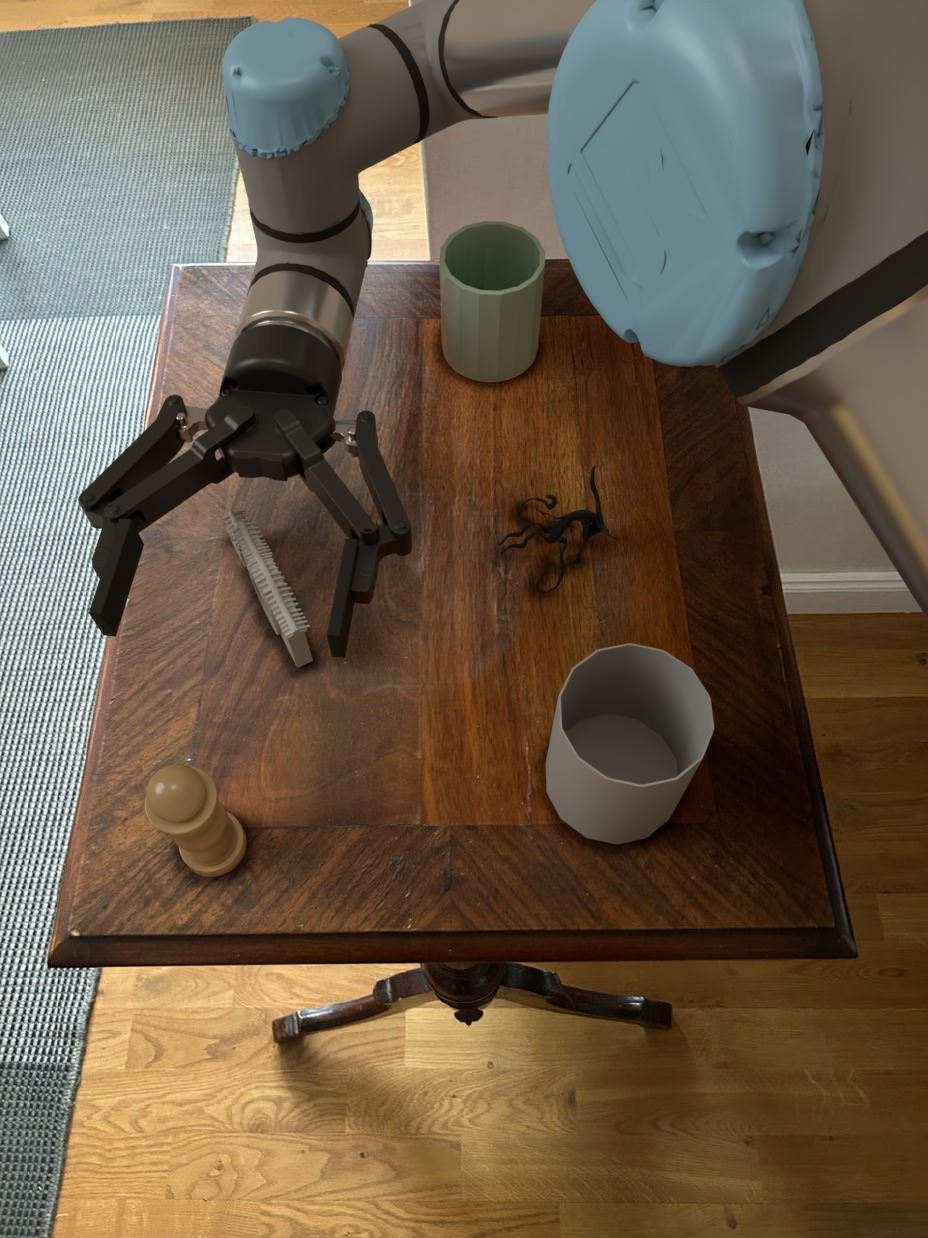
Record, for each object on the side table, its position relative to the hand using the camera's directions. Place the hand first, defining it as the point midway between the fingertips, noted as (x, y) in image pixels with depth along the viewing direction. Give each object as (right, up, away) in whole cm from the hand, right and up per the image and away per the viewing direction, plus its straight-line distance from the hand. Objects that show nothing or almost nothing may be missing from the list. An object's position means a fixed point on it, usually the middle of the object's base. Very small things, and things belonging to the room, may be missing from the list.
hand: (218, 636), depth 58 cm
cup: (+23, -9, +5) cm, 26 cm away
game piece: (-1, -13, +3) cm, 13 cm away
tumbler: (+16, +23, +23) cm, 36 cm away
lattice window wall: (+1, +2, +12) cm, 12 cm away
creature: (+20, +6, +14) cm, 25 cm away
